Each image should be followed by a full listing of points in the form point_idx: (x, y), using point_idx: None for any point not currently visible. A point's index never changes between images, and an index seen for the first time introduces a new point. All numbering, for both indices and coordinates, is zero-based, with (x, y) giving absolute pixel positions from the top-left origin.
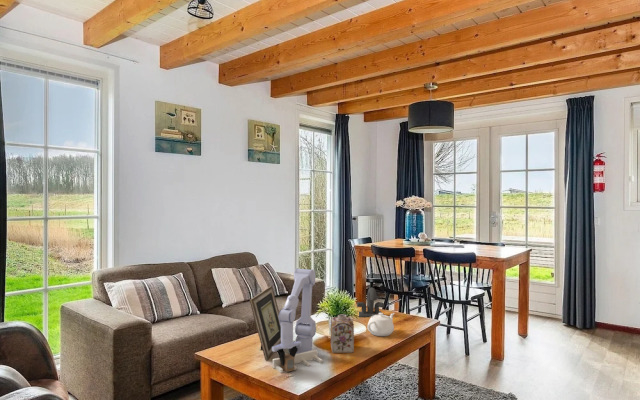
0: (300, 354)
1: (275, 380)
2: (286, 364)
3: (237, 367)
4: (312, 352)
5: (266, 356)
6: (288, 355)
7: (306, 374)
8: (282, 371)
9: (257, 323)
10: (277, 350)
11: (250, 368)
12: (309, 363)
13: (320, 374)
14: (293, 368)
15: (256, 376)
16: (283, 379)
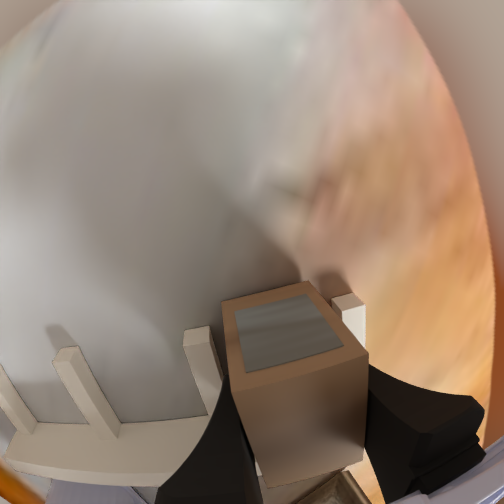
0: (120, 471)
1: (433, 161)
2: (338, 317)
3: (481, 399)
4: (31, 458)
5: (350, 486)
6: (289, 449)
7: (121, 175)
8: (339, 301)
9: None
10: (487, 449)
11: (456, 388)
12: (56, 359)
13: (12, 142)
14: (230, 308)
15: (488, 280)
16: (377, 148)
